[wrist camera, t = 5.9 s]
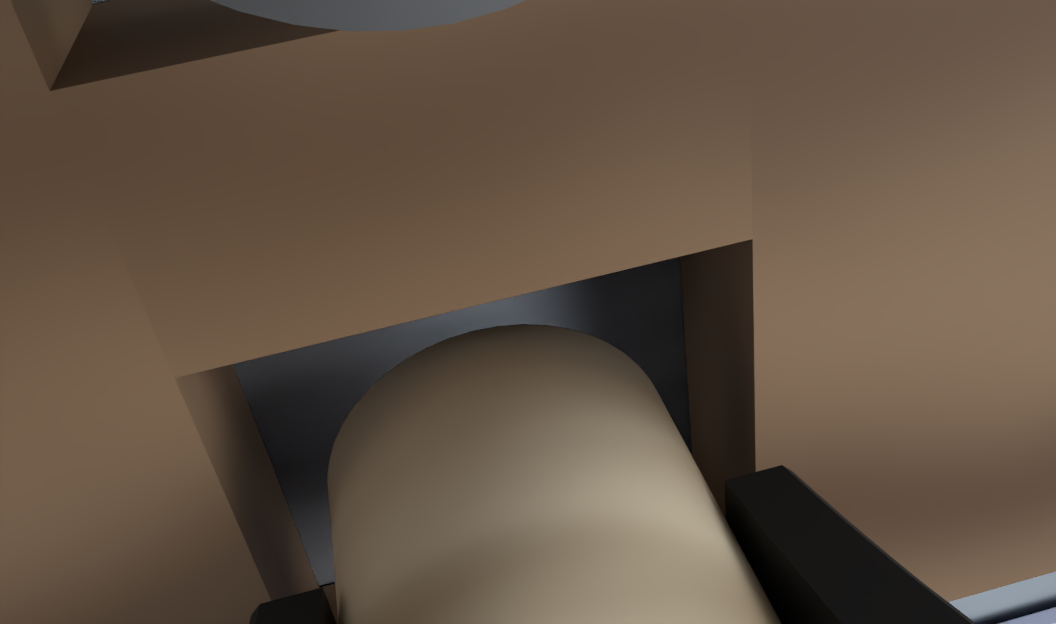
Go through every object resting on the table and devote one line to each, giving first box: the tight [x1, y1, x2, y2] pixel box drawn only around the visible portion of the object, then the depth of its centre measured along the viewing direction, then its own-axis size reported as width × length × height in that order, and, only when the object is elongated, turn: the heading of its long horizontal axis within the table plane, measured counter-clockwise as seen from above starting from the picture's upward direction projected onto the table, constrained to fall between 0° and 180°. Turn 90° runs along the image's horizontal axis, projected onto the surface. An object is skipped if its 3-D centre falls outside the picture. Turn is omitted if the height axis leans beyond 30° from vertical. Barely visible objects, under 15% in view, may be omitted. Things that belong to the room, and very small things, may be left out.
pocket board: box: [0, 0, 1056, 624], centre depth 9 cm, size 17×16×6 cm
